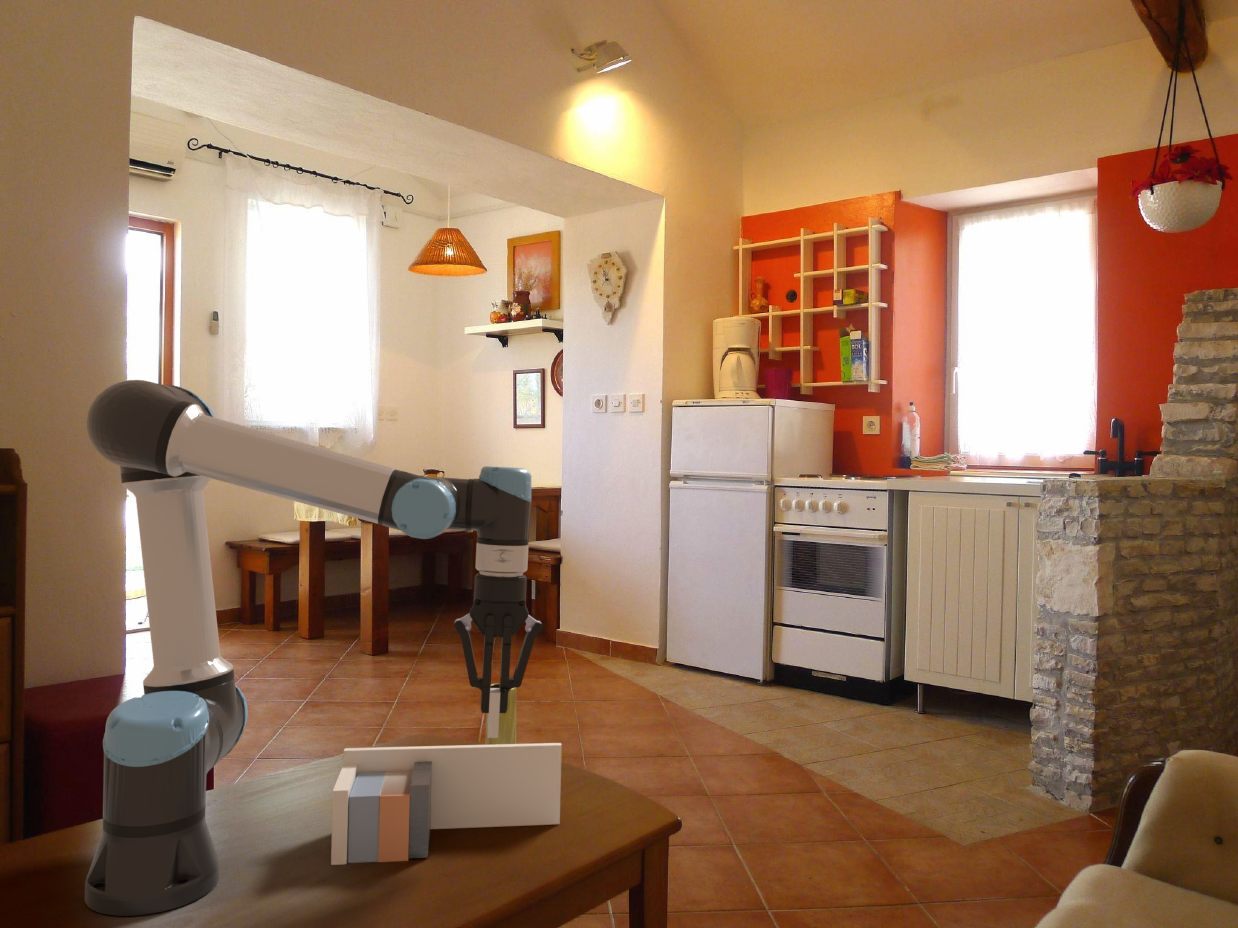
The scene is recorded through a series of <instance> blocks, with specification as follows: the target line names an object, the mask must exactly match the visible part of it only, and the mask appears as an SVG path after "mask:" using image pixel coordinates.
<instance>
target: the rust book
mask: <svg viewBox="0 0 1238 928" xmlns="http://www.w3.org/2000/svg"><path fill="white" fill-rule="evenodd" d="M412 775H413V771H397V772H386V773H385V777H384V781H383V785H382V788H381V792H380V810H379V849H378V863H388V862H390V863H391V862H408V861H409V859H410V858H409V834H410V793H411V781H412Z"/></svg>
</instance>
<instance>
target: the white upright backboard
mask: <svg viewBox="0 0 1238 928" xmlns="http://www.w3.org/2000/svg"><path fill="white" fill-rule="evenodd" d="M562 745H563V744H562V742H547V743H546V742H545V743H544V742H542V743H541V742H539V743H516V744H496V745H485V744H467V745H466V744H464V745H463V744H461V745H457V744H456V745H427V746H426V745H424V746H418V745H417V746H383V747H382V746H381V747H346V748H344V750H343V762H342V763H343V764H342V767H341V770H340V772H339V775H338V776H337V779H336V782H335V785H334V786H333V788H332V809H331V811H332V814H331V816H332V817H331V823H332V824H331V847H330V848H331V849H330V850H331V853H330V854H331V855H330V859H331V860H330V866H336V865H337V866H338V865H339V866H340V865H347V864H348V834H349V796H350V793H351V790H352V788H353V785H354V782H355V779H356V776H357V773H358V772H382V771H386V772H397V771H413V769H414V763H415V762H432V779H431V820H430V830H443V829H445V830H447V829H468V828H469V829H470V828H494V827H499V828H500V827H519V826H520V827H521V826H522V827H524V826H544V825H545V826H546V825H547V826H548V825H551V826H552V825H560V824H561V823H560V822H561V821H560V820H561V792H562V791H561V789H562V787H561V786H562V785H561V783H562V782H561V781H562V748H563V747H562Z"/></svg>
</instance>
